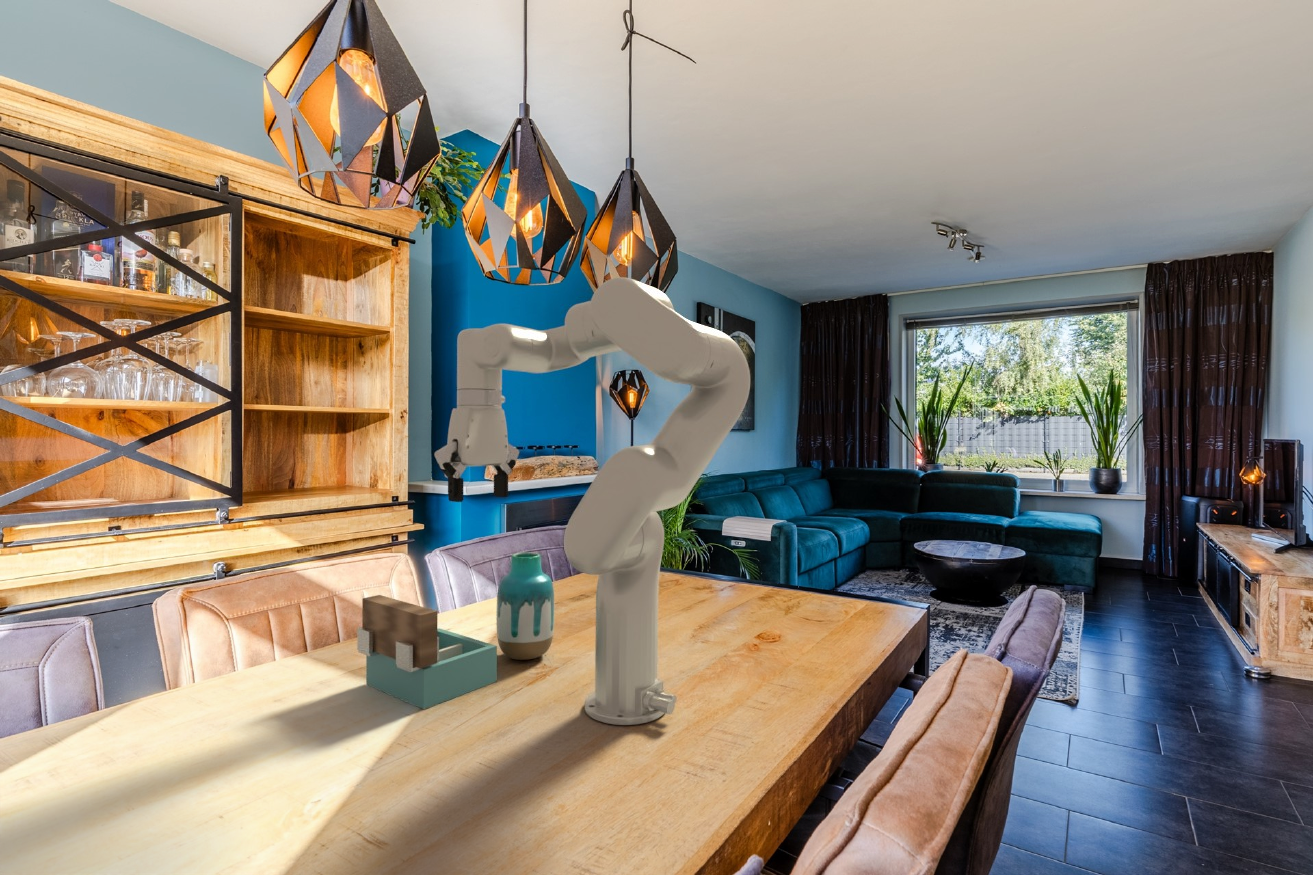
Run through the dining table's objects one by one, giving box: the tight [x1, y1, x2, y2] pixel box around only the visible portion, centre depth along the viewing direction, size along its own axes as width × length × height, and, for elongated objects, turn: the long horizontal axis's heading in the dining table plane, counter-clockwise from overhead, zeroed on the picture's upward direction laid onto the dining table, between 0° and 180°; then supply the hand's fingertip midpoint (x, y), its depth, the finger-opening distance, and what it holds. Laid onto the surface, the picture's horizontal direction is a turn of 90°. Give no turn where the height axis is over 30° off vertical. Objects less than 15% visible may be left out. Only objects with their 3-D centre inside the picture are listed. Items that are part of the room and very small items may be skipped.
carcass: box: [365, 627, 498, 710], centre depth 110 cm, size 16×14×6 cm
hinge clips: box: [356, 626, 439, 672], centre depth 105 cm, size 14×5×4 cm, turn 54°
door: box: [361, 594, 438, 668], centre depth 105 cm, size 16×3×8 cm, turn 54°
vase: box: [496, 552, 556, 661], centre depth 123 cm, size 11×11×19 cm
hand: (479, 499), depth 115 cm, fingers open, 9 cm apart
